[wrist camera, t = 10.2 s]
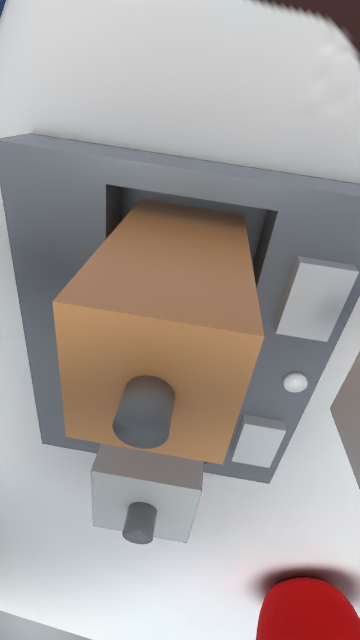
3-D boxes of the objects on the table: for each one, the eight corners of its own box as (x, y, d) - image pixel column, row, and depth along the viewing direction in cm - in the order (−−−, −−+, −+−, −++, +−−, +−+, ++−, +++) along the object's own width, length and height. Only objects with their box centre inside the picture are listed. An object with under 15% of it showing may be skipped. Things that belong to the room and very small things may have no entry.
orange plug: (141, 198, 16) (27, 330, 7) (244, 215, 16) (270, 371, 7) (135, 289, 19) (49, 471, 10) (223, 304, 19) (222, 502, 10)
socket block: (59, 410, 26) (37, 452, 23) (29, 133, 16) (-18, 141, 13) (264, 446, 26) (270, 493, 23) (374, 186, 15) (412, 207, 12)
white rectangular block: (129, 410, 24) (85, 551, 17) (132, 357, 22) (81, 497, 14) (197, 422, 24) (184, 569, 17) (208, 370, 22) (200, 518, 14)
